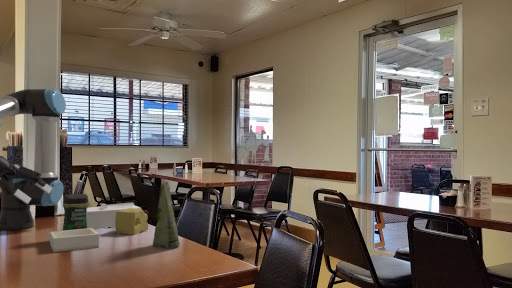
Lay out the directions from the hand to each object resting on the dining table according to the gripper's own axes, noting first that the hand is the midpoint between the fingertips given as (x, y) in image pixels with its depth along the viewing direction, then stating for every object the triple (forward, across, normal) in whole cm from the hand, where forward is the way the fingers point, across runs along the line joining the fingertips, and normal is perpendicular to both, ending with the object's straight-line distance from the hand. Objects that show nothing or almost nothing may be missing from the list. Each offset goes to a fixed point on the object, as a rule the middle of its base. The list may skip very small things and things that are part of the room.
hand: (39, 196), depth 162 cm
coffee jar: (+21, +2, -8) cm, 23 cm away
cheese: (+40, +10, +5) cm, 41 cm away
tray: (+17, +11, -16) cm, 26 cm away
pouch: (+37, +39, -12) cm, 55 cm away
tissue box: (+40, -9, +16) cm, 44 cm away
